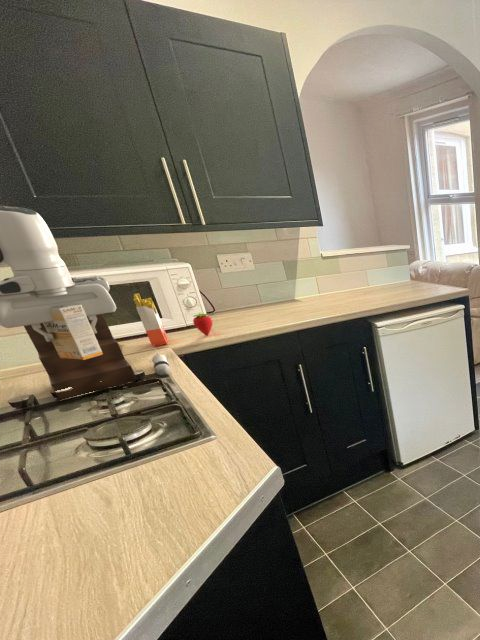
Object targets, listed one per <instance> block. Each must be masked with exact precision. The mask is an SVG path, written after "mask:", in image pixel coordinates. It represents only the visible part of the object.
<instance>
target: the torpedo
mask: <svg viewBox="0 0 480 640" xmlns="http://www.w3.org/2000/svg"><path fill="white" fill-rule="evenodd" d="M153 346H154V345H152V347H153ZM153 348H154V350H155V352H156V354H155V355H153V356H152V359H151V360H150V361H149V362H151V363H152V366H153V368H154V372H155V373H156V374H157V375H158V376H167V375H169V374H170V373H171V368H170V367H171V366H170V364H169V361H168V359H169V356H166V355H164V354H159V353H158V351H157V349H156V346H154V347H153Z"/></svg>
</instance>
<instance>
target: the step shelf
mask: <svg viewBox="0 0 480 640" xmlns="http://www.w3.org/2000/svg"><path fill="white" fill-rule="evenodd" d="M96 317H97V322H96V325H95V329H96V331H97V333H95V334H94V335H95V337H96V339H97V341H98V344H99V346H100V348H101V350H102V353H103V354H102V355H99V356H96V357H92V358H89V359H86V360H81V359H68V358H60V356H59V354H58V352H57V350H56V348H55V346H54V344H53V342H52V341H50V342H47V341H46V339H45V337H44V335H42V334H40V333H38V332H37V331H35V330H34V329H33V328H32V326H31V325H26V326H23V328H24V330H25V331H26V333H27V335H28V337H29V339H30V341H31V343H32V344H33V346H34V348H35V350H36V352H37V354H38V359H39V361H40V363H41V365H42V366H43V368H44V370H45V372H46V373H47V376H48V379H49V383H50V386H51V388H52V390H53V391H54V392H55V391H57V390H61V389H65V388H68V387H72V388H73V389H72V390H71V391H67V392H63V393H57V394H56V393H55V395H56V396H57V399H58V401H60V400H62V399H65V398H69V397H73V396H77V395H81V394H85V393H89V392H93V391H96V390H100V389H104V388H108V387H114V386H119V385H122V384H127V383H128V382H131V381H135V380H138V378H137V376H136V374H135V372H134V369H133V367H132V365H131V364H130V362H128V360H127V359H126V358H125V355H124V353H123V351H122V349H120V347H119V345H118V343H119V342H118V341H117V340H116V339H115V337H114V336H113V334H112V331H111V329H110V327H109V325H108V323H107V321H106V319H105V316H104V314H98V315H96ZM87 319H88V321H89V323H90V325H91V321H92V320H90V319H89V318H88V316H87ZM40 325H41V328H40V329H41V330H43V331H44V332H46V333H48V332H47V330H46V328H45V326H44V324H43V323H40ZM100 381H102V382H100ZM127 385H128V384H127Z"/></svg>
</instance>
